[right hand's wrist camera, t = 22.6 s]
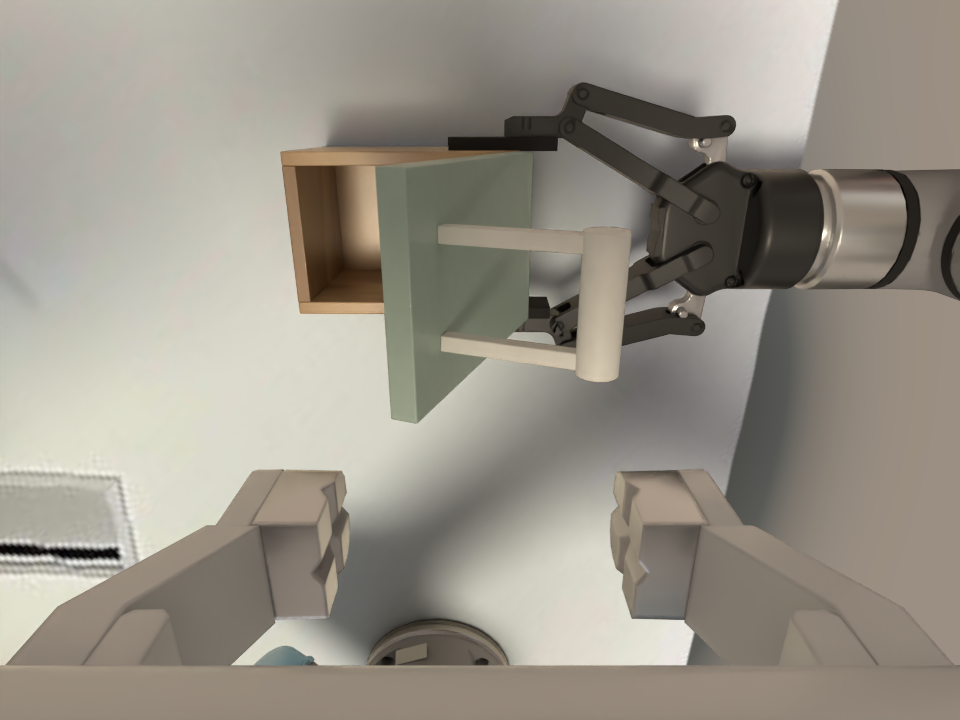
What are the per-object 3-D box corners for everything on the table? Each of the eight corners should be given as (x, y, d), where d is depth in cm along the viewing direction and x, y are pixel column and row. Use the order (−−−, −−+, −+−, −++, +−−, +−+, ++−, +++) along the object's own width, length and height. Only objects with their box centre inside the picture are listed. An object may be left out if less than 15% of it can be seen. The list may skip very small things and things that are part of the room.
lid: (390, 419, 24) (601, 460, 21) (374, 166, 20) (625, 171, 17) (510, 316, 37) (650, 332, 34) (513, 151, 33) (669, 153, 30)
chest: (337, 277, 47) (299, 314, 37) (325, 146, 43) (279, 151, 34) (513, 277, 46) (518, 314, 37) (515, 146, 43) (522, 150, 33)
